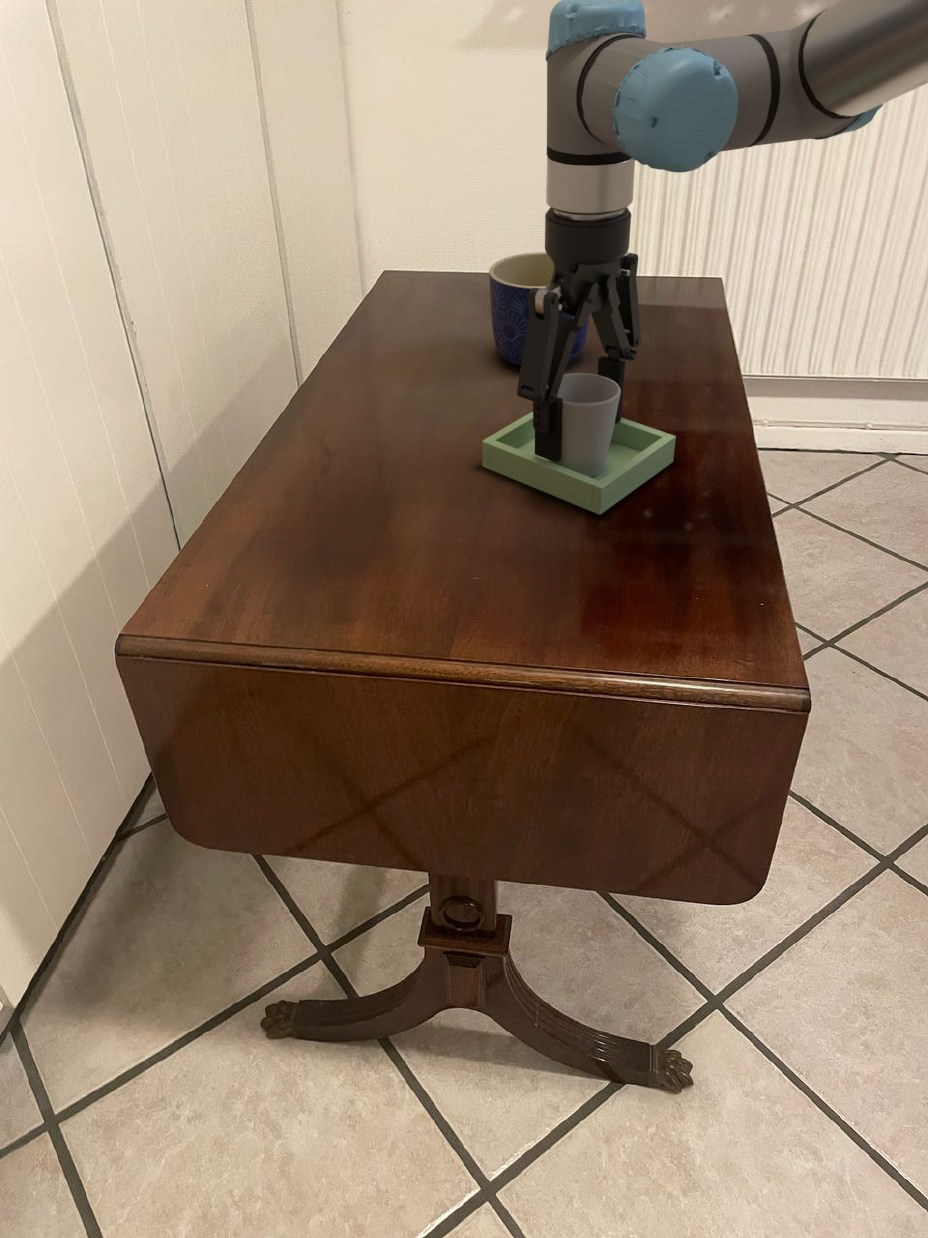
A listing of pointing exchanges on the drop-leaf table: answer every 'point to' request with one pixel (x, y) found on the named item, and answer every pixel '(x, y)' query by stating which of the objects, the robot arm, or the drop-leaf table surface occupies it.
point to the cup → (587, 421)
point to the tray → (625, 469)
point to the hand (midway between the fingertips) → (578, 437)
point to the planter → (520, 302)
